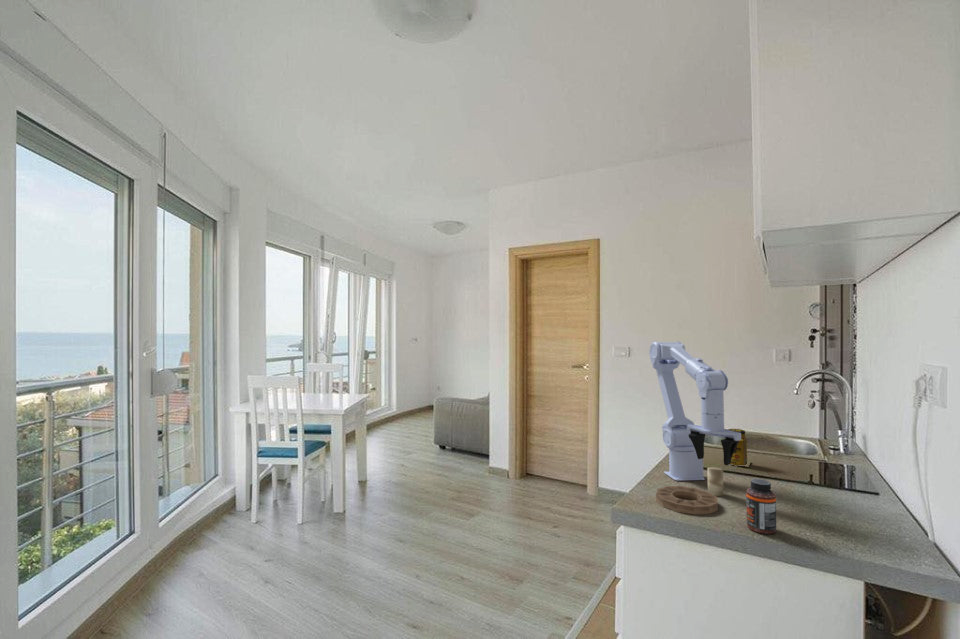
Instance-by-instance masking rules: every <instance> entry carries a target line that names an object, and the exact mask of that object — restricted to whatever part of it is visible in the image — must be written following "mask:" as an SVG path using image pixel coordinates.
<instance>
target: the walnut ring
mask: <svg viewBox="0 0 960 639" xmlns="http://www.w3.org/2000/svg"><path fill="white" fill-rule="evenodd" d="M655 501H656V502H657V503H658V504H659V505H660V506H661V507H662V508H665V509H668V510H670V511H673V512H676V513H682V514H687V515H688V514H689V515H710V514H713V513H715V512H717V511H719V510H718V509H719V505H718V504H719V503H718V502H719V501H718V496H714V495H712V494H711V493H709V492H708V491H707V490H702V489H700V488H699V489H698V488H696V487H691V486H690V487H689V486H684V485H683V486H682V485H668V486H663V487H659V488H657V489H656V492H655Z"/></svg>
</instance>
